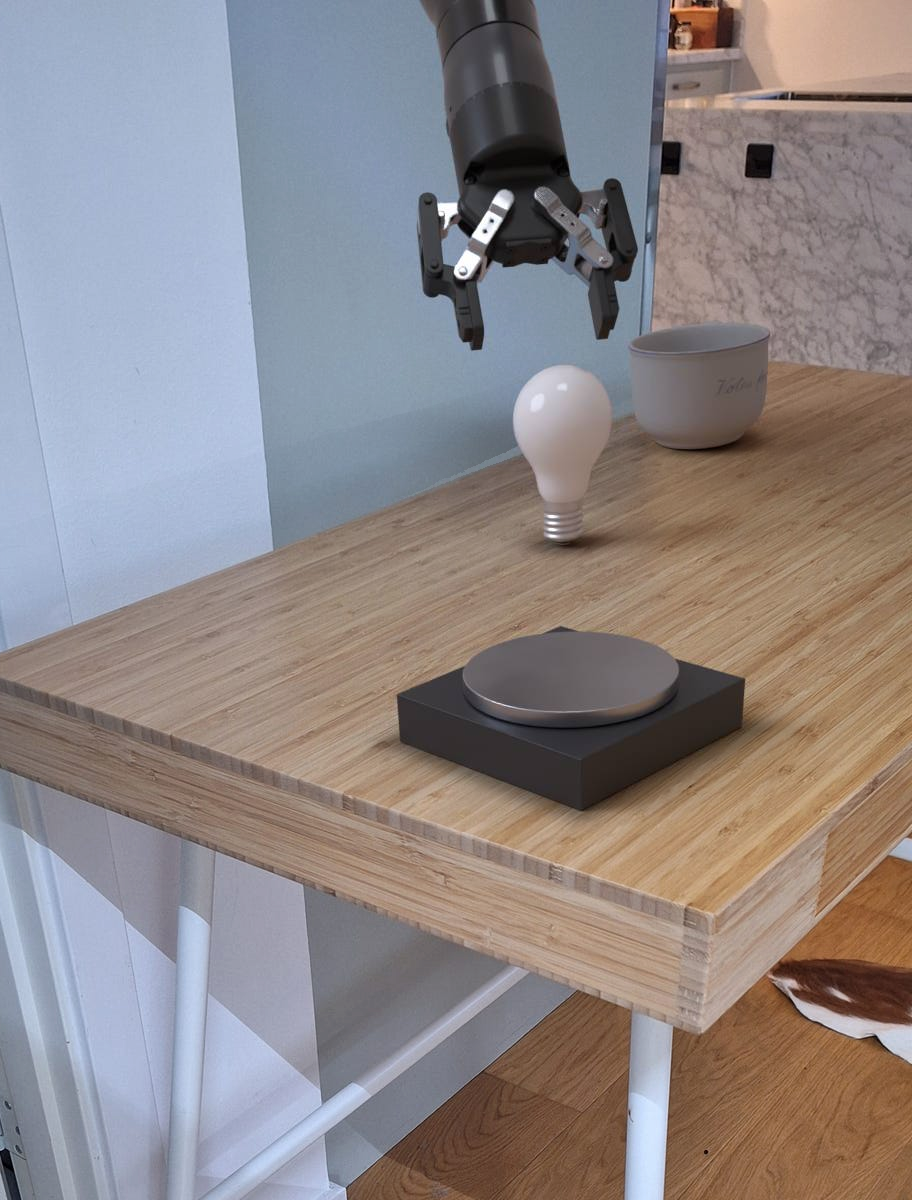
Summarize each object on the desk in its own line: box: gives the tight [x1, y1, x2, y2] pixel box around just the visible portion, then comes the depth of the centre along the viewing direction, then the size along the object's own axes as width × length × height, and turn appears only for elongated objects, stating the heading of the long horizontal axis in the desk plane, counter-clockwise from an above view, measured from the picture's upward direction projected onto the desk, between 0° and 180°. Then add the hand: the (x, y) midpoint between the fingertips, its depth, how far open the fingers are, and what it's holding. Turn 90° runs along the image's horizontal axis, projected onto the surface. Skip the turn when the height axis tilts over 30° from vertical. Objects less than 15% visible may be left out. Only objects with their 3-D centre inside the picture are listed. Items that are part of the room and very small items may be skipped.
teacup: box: [627, 320, 771, 450], centre depth 117 cm, size 14×11×8 cm
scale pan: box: [463, 631, 679, 728], centre depth 71 cm, size 10×10×1 cm
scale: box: [396, 625, 746, 811], centre depth 72 cm, size 12×12×2 cm
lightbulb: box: [512, 364, 614, 546], centre depth 95 cm, size 6×6×11 cm
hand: (542, 337), depth 97 cm, fingers open, 8 cm apart
